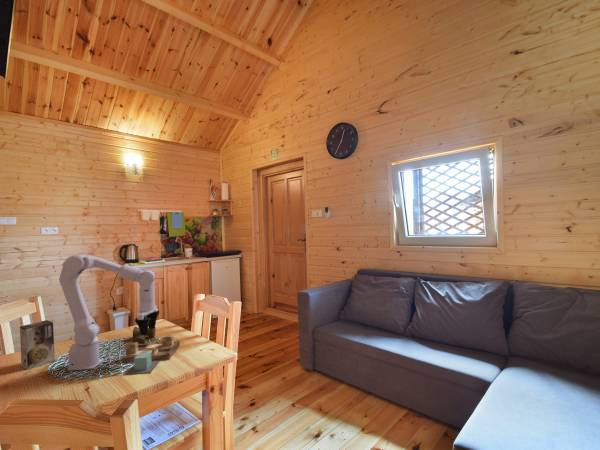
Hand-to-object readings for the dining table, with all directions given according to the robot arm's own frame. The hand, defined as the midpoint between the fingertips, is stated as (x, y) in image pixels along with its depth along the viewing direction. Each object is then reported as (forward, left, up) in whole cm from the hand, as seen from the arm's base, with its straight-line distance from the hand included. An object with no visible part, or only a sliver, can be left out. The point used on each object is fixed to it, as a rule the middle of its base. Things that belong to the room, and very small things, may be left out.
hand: (148, 331), depth 128 cm
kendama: (-10, +19, -11) cm, 24 cm away
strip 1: (-2, -1, -9) cm, 9 cm away
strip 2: (+3, +5, -9) cm, 11 cm away
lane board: (+1, +2, -10) cm, 10 cm away
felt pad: (+2, -11, -10) cm, 15 cm away
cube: (+2, -11, -10) cm, 15 cm away
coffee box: (-43, 0, -10) cm, 44 cm away
